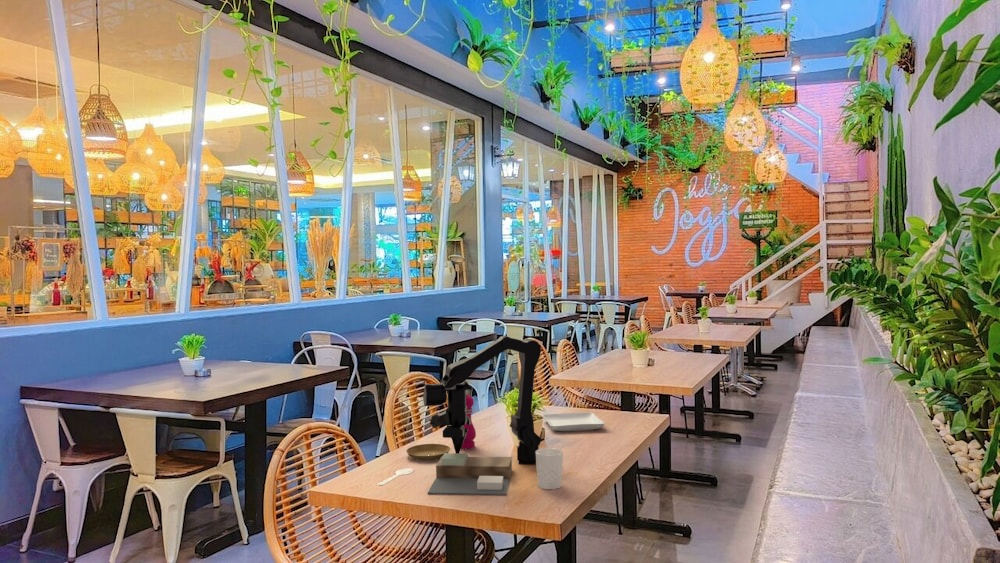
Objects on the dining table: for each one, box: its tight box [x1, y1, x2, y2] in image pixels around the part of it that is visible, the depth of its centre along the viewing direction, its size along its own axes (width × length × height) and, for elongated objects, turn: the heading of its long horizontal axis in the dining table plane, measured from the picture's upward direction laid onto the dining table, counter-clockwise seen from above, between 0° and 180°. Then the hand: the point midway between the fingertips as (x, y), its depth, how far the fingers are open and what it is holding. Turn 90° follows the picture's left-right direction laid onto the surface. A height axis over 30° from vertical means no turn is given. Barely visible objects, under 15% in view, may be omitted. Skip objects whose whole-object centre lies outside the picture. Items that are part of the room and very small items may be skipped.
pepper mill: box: [461, 390, 477, 450], centre depth 240 cm, size 7×7×20 cm
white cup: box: [535, 447, 564, 490], centre depth 197 cm, size 8×8×10 cm
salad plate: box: [541, 412, 605, 432], centre depth 269 cm, size 21×21×3 cm
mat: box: [427, 477, 510, 496], centre depth 197 cm, size 22×13×1 cm, turn 85°
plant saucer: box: [406, 443, 451, 462], centre depth 230 cm, size 15×15×3 cm
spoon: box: [376, 467, 415, 486], centre depth 208 cm, size 5×18×1 cm, turn 156°
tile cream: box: [477, 476, 503, 490], centre depth 196 cm, size 7×6×2 cm
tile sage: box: [441, 452, 468, 466], centre depth 208 cm, size 7×6×2 cm
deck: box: [435, 456, 513, 481], centre depth 209 cm, size 22×10×4 cm, turn 85°
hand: (457, 453), depth 215 cm, fingers closed
